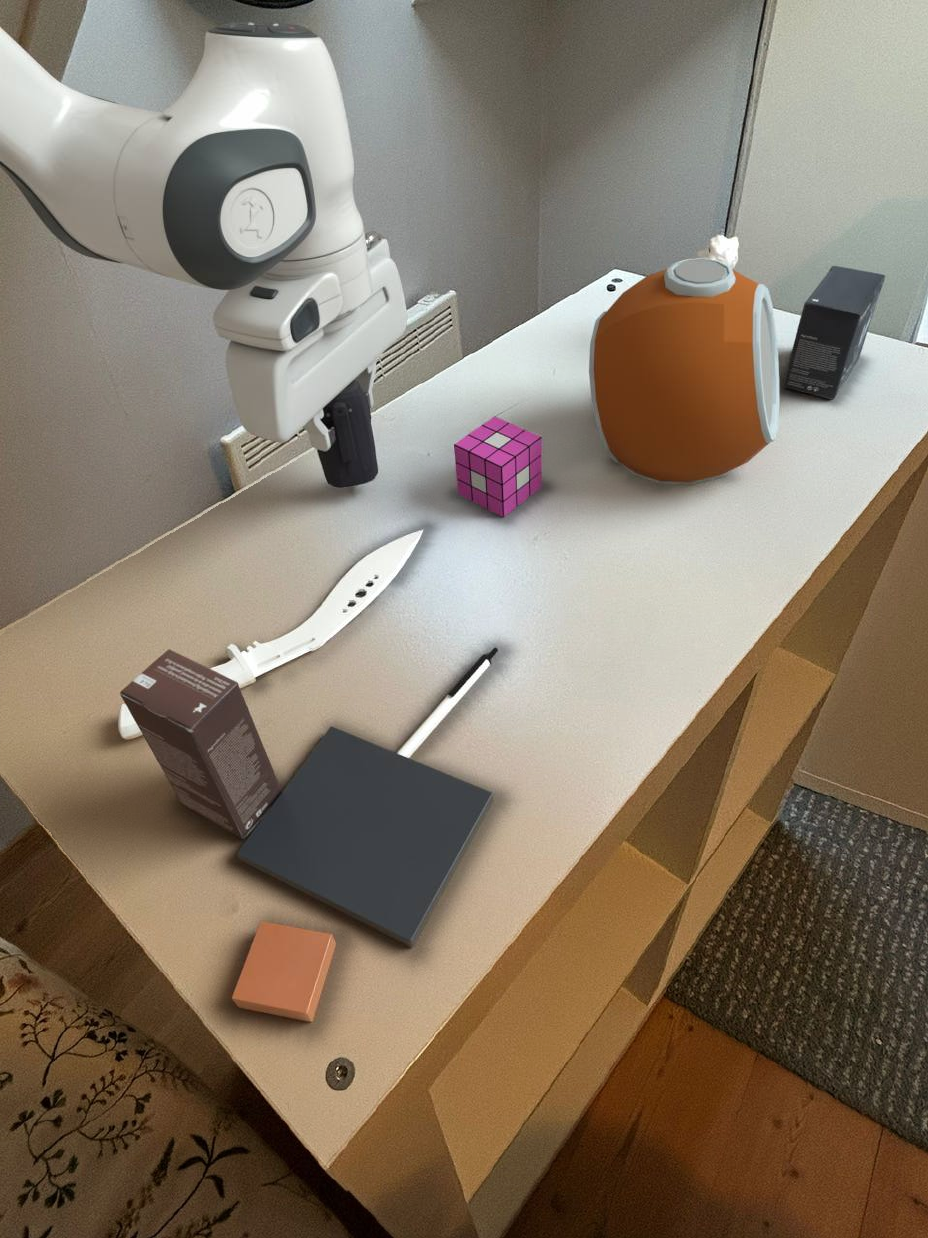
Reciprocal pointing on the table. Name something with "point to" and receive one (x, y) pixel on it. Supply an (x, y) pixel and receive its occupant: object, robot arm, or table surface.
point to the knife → (310, 621)
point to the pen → (446, 705)
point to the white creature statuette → (721, 250)
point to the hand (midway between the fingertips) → (343, 427)
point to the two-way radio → (349, 440)
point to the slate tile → (368, 833)
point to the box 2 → (832, 331)
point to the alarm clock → (686, 373)
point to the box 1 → (204, 741)
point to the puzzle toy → (498, 465)
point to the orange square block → (285, 971)
